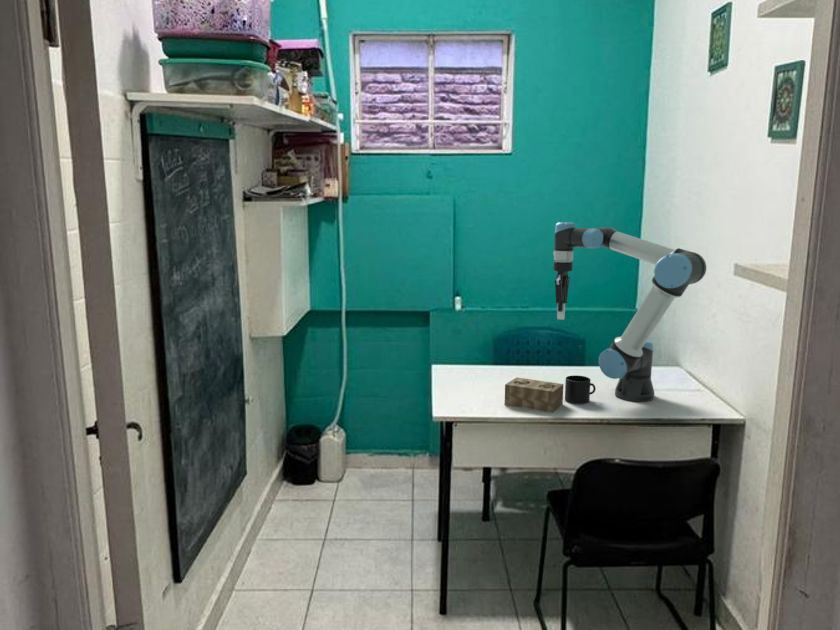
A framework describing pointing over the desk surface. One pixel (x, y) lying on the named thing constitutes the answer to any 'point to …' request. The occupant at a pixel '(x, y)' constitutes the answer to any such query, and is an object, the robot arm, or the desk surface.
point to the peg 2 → (547, 385)
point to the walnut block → (534, 395)
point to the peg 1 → (522, 382)
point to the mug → (578, 389)
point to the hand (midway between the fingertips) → (560, 318)
